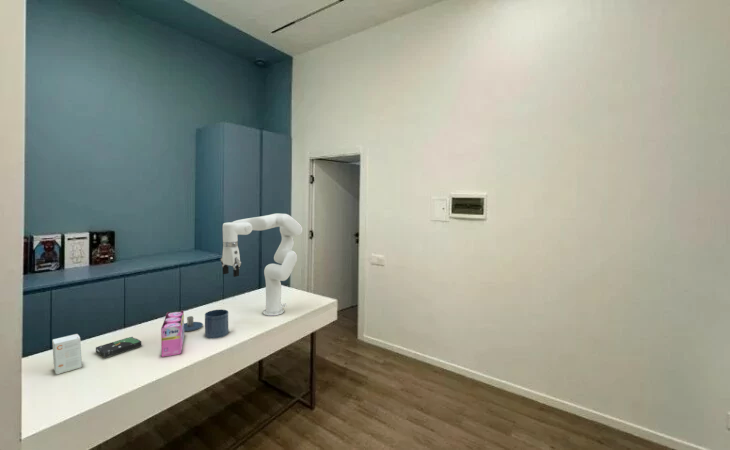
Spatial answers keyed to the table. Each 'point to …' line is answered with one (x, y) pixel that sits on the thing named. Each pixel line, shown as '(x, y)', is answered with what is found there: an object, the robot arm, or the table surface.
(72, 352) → the small box
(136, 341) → the disk drive
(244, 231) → the robot arm
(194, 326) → the lid
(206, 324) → the canister
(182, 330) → the gum box
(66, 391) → the table surface
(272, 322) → the table surface
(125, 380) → the table surface
